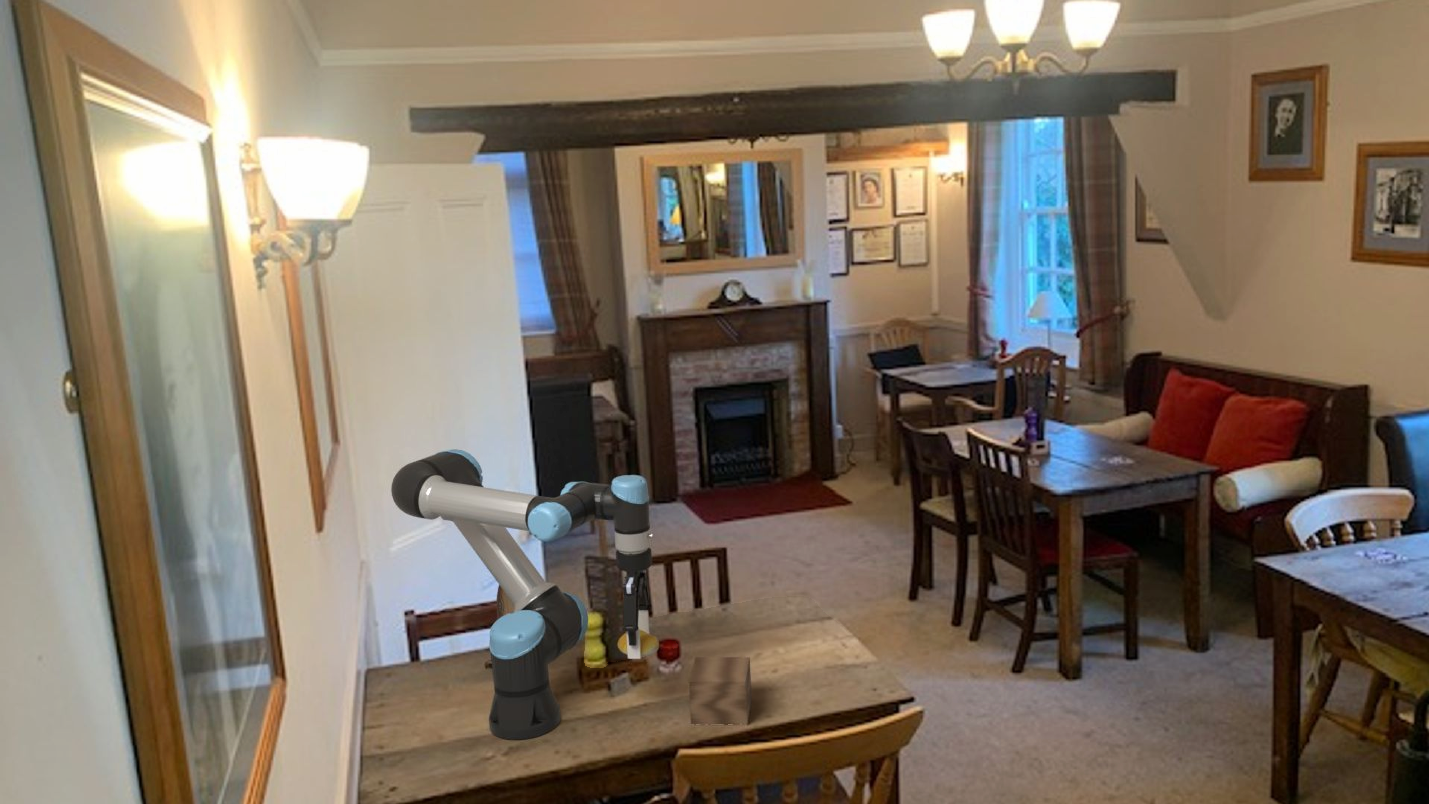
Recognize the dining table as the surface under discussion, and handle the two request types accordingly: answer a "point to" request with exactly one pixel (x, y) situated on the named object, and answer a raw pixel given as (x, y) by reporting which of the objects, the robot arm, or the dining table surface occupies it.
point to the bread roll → (641, 644)
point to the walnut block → (720, 690)
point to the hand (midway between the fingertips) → (639, 648)
